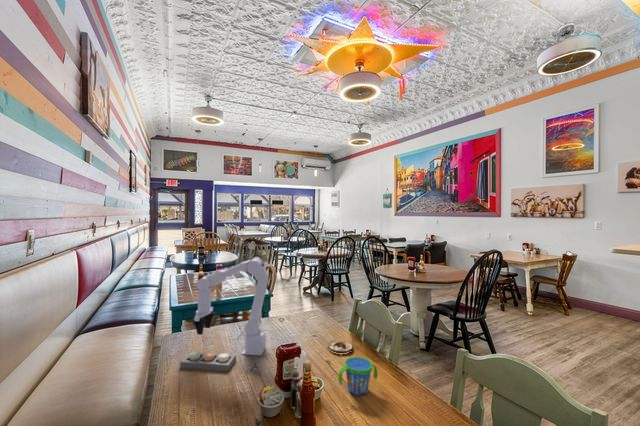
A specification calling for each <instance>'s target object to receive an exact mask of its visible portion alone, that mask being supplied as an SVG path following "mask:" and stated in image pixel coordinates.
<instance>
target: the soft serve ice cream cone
mask: <svg viewBox="0 0 640 426" xmlns="http://www.w3.org/2000/svg"><path fill="white" fill-rule="evenodd" d="M296 345H298V346H300V348H301V354H300V358H299V357H295V358H294V359H295V361H294V363H293V364H295V366H294V368H297V366H296V365H297V362H298V370H297V372H299V376H300V377H302V372H303V362H305V363H306V362H307V359H308V355H307V353H306V352H305V351H304V350H303V347H302V344H300V343H296Z"/></svg>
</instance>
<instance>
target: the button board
mask: <svg viewBox="0 0 640 426" xmlns="http://www.w3.org/2000/svg"><path fill="white" fill-rule="evenodd" d="M192 352H193V351H190V353H192ZM206 353H207V352H200V359H199V360H198V361H193V360H189V354H187V355H186V356H185V357H184V358H183V359H182V360H180V362H179V368H180V369H190V370H192V369H193V370H205V371H217V372H219V371H220V372H229V370H230V369H231V368H232V366H233V365H234V364H235V363H236V361H237V354H229V353H228V354H229V361H228V362H227V363H223V362H218V356H219V355H220V354H221V353H214V360H213V361H212V362H208V361H204V354H206Z"/></svg>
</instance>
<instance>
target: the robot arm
mask: <svg viewBox="0 0 640 426" xmlns="http://www.w3.org/2000/svg"><path fill="white" fill-rule="evenodd" d="M241 272H243V273H247V272H248V273H249V274H250V275H252V276H253V277H254V278H255V279H256V280H257V284H256V288H255V292H254V297H253V302H252V305H251V309H250V315H249V318H248V321H247V323H246V324H245V326H244V338H245V339H244V350H243V351H242V352H241V355H247V356H249V355H250V356H262V355H263V353H264V352H265V351H266V348H267V346H266V343H267V342H266V337H267V335H266V332H262V331H261V328H260V327H261V324H262V320H261V315H262V308H263V305H264V300H265V297H266V291H267V287H268V284H269V283H268V282H269V279H270V278H269V273H268V271H267V268H266V264H265V263H264V261H263V260H262V259H261V258H258V257H254V258H253V259H248V260H245V261H242V262H239V263H238V264H235V265H234V266H232V267H230V268H228V269H226V270H224V269H216V270H214V272H212V273H210V274H205V276H203V277H200V279H199V280H197V281H196V284H195V285H196V288H197V293H198V294H197V310H196V311H195V316H194V318H193V319H192V323H193V325H194V327H195V330H196V334H197V335H203V333H204V328H205V329H210V328H211V325H212V322H213V318H214V316H215V314H216V312H215V311H214V306H211V305H212V287H215V286H217V285H219V284H221V283H223V282H225V281H226V280H227V278H228V277H231V276H234V275H235V274H238V273H241Z"/></svg>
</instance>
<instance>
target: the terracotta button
mask: <svg viewBox="0 0 640 426" xmlns="http://www.w3.org/2000/svg"><path fill="white" fill-rule="evenodd" d="M205 353H206V354H204V361H208V362H212V361H213V360H214V354H215V352H205Z"/></svg>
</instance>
